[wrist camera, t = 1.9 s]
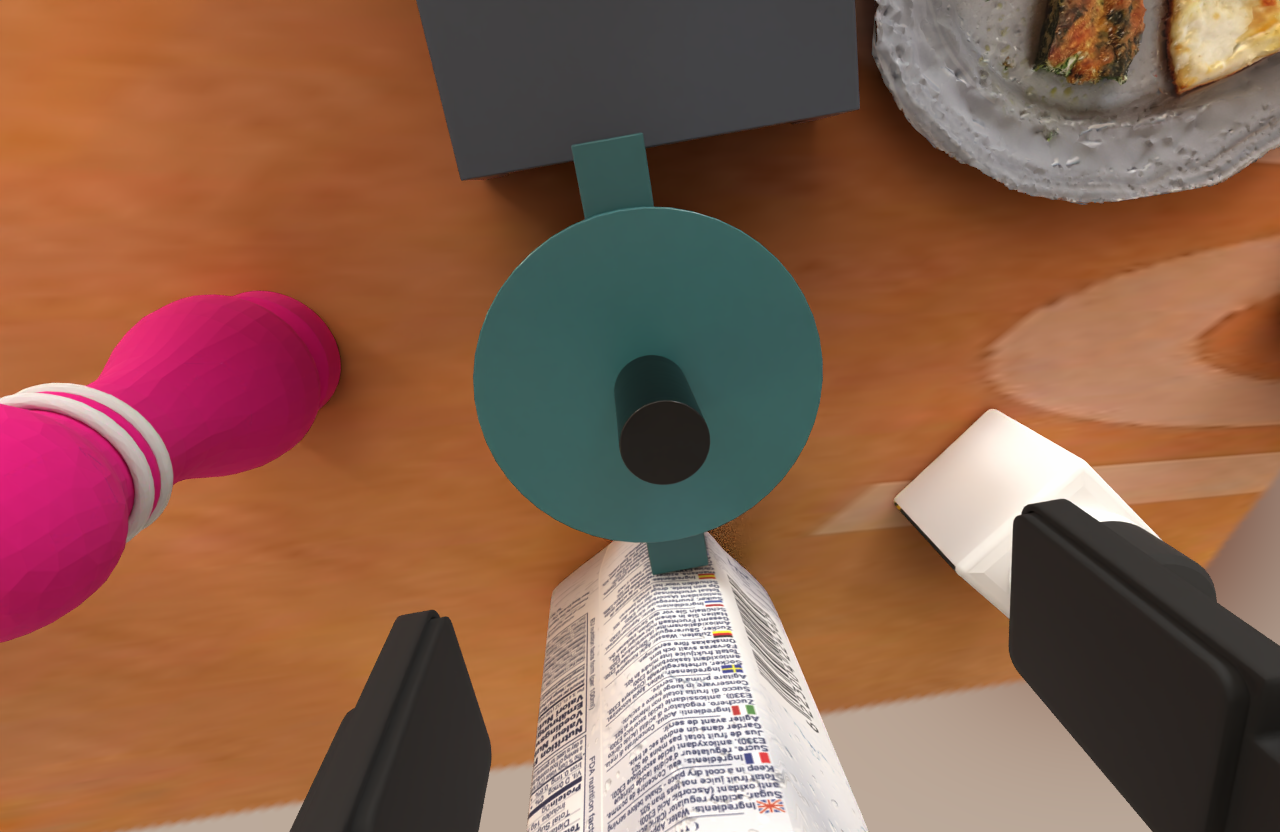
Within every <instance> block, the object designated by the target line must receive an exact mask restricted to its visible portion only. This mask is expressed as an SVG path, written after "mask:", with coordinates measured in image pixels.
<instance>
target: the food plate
mask: <svg viewBox="0 0 1280 832" xmlns="http://www.w3.org/2000/svg"><path fill="white" fill-rule="evenodd" d="M874 1H875V0H874ZM876 1H877V3H879V6H878V8H877V13H876V14H875V15H874V16H875V18H874V32H873V40H872V55H873V58H874V59H875V62H876V65H877V67H878V68H879V70H880V73H881V74H882V78H883V82H884V83H885V85H886V86H887V88H888V89H889V90H890V91H889V92H891V93H892V95H893V96H892V97H893V100H894V101H895V102H896V103H897V106H898V108H899V110H901V111H903V113H904V114H905V115H904V116H905V117H906V119H907V120H908V122H910V123H911V125H912V126H913V127H914V128H915V130H917V131H918V132H919V133H920V134H922V135H923V136H924V137H925V138H926V139H927V140H928V141H929V142H930V143H931V144H932V146H933V147H934V148H935V147H936V148H937V149H938V150H941V151H945V153H946V154H947V153H949V157H951V158H952V157H954V159H955V160H958V161H959V162H960V163H961V164H969V165H970V166H973V167H976V168H977V169H981V171H982V172H983V174H986V175H987V176H990V177H992V179H996V180H997V182H1001V183H1004V184H1005V185H1004V186H1006V187H1008V188H1009V190H1013V189H1014V190H1018V192H1023V193H1025V192H1026V194H1029V195H1031V196H1038V197H1039V196H1040V197H1045V198H1050V199H1052V200H1054V199H1055V200H1057V199H1058V200H1059V199H1060V200H1064V201H1070V203H1077V202H1084V203H1088V202H1094V203H1096V202H1099V203H1103V202H1104V201H1106V202H1110V203H1111V202H1118V201H1124V200H1130V199H1137V198H1140V197H1149V196H1155V195H1161V194H1167V193H1172V192H1179V191H1183V190H1190V189H1196V188H1201V187H1204V186H1208V187H1209V186H1213V185H1214V184H1216V185H1217V184H1218V183H1221V182H1223V181H1226V180H1227V179H1228V178H1231V177H1232V176H1233V175H1235V174H1236V173H1240V172H1241V171H1242V170H1243V169H1244V168H1245V167H1246V166H1247V167H1248V165H1249V164H1250V163H1253V162H1256V161H1257V159H1258V158H1259V159H1260V158H1261V157H1263V156H1264V155H1265V154H1266V153H1268V151H1269V150H1271V149H1275V148H1279V147H1280V0H876ZM874 4H875V3H874ZM870 21H871V20H870ZM875 21H876V22H877V26H878V28H877V34H878V40H877V42H876V31H875ZM959 162H958V163H959ZM1194 187H1195V188H1194ZM1077 204H1083V203H1077ZM1103 204H1104V203H1103ZM1083 205H1085V204H1083Z"/></svg>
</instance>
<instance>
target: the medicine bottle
mask: <svg viewBox="0 0 1280 832" xmlns="http://www.w3.org/2000/svg"><path fill="white" fill-rule="evenodd" d="M1056 499H1066V500H1069V501H1071V502H1072V503H1073V504H1075V505H1076V506H1078V507H1079V508H1081V509H1082V510H1084V511H1085V512H1087V513H1088V514H1089V515H1091V516H1092V517H1094V518H1095V519H1097V520H1098V521H1100V522H1101V523H1102V524H1104V525H1105V526H1107V527H1108V528H1110V529H1111V530H1113V531H1114V532H1115V533H1117V534H1118V535H1120V536H1121V537H1123V538H1124V539H1126V540H1127V541H1128V542H1130V543H1131V544H1133V545H1134V546H1136V547H1137V548H1139V549H1140V550H1142V551H1143V552H1144V553H1146V554H1147V555H1149V556H1150V557H1152V558H1153V559H1155V560H1156V561H1157V562H1159V563H1160V564H1162V565H1163V566H1165V567H1166V568H1168V569H1169V570H1170V571H1172V572H1173V573H1175V574H1176V575H1178V576H1179V577H1181V578H1182V579H1183V580H1185V581H1186V582H1188V583H1189V584H1191V585H1192V586H1194V587H1195V588H1197V589H1198V590H1199V591H1201V592H1202V593H1204V594H1205V595H1207V596H1208V597H1210V598H1211V599H1212V600H1214V601H1215V602H1217V600H1216V593H1215V588H1214V584H1213V582H1212V580H1211V578H1210V576H1209V574H1208V573H1207V572H1206V571H1205V569H1204V568H1202V567H1201V566H1200V565H1199V564H1198V563H1196V562H1195V561H1193V560H1191V559H1190V558H1188V557H1187V556H1185V555H1184V554H1182V553H1181V552H1179V551H1177V550H1176V549H1174V548H1173V547H1171V546H1170V545H1168V544H1167V543H1165V542H1163V541H1162V540H1161V539H1160V538H1159V537H1158V536H1157V535H1156V533H1155V532H1154V531H1153V530H1152V529H1151V528H1150V527H1149V526H1148V525H1147V524H1146V523H1145V522H1144V521H1143V520H1142V519H1141V518H1140V517H1139V516H1138V515H1137V514H1136V513H1135V512H1134V511H1133V510H1132V509H1131V508H1130V507H1129V506H1128V505H1127V504H1126V503H1125V502H1124V501H1123V500H1122V499H1121V497H1120V496H1119V495H1118V494H1117V493H1116V492H1115V491H1114V490H1113V489H1112V488H1111V487H1110V486H1109V485H1108V484H1107V483H1106V482H1105V481H1104V480H1103V479H1102V478H1101V477H1100V476H1099V475H1098V474H1097V473H1096V472H1095V471H1094V470H1093V469H1092V468H1091V467H1090V466H1089V465H1088V464H1087V463H1086V461H1084V460H1083V459H1081V458H1079V457H1077V456H1076V455H1074V454H1072V453H1070V452H1069V451H1067V450H1065V449H1064V448H1062V447H1060V446H1058V445H1057V444H1055V443H1053V442H1051V441H1050V440H1048V439H1046V438H1045V437H1043V436H1041V435H1039V434H1038V433H1036V432H1034V431H1033V430H1031V429H1029V428H1027V427H1026V426H1024V425H1022V424H1020V423H1019V422H1017V421H1015V420H1014V419H1012V418H1010V417H1008V416H1007V415H1005V414H1003V413H1001V412H1000V411H998V410H996V409H989V410H988V411H986V412H985V413H984V414H983V415H982V416H981V417H980V418H979V419H978V420H977V421H976V422H975V423H973V424H972V425H971V426H970V427H969V428H968V429H967V430H966V431H965V432H964V433H963V434H962V435H961V436H960V437H959V438H957V439H956V440H955V441H954V442H953V443H952V444H951V445H950V446H949V447H948V448H947V449H946V450H945V451H944V452H943V453H941V454H940V455H939V456H938V457H937V458H936V459H935V460H934V461H933V462H932V463H931V464H930V465H929V466H928V467H927V468H925V469H924V470H923V471H922V472H921V473H920V474H919V475H918V476H917V477H916V478H915V479H914V480H913V481H912V482H911V483H909V484H908V485H907V486H906V487H905V488H904V489H903V490H902V491H901V492H900V493H899V494H898V495H897V496H896V497H895V498H894V504H895V506H896V507H897V508H898V509H899V510H900V512H901V513H902V514H903V515H904V516H905V517H906V518H907V519H908V520H909V521H910V523H911V524H912V525H913V526H914V527H915V528H916V529H917V530H918V531H919V532H920V533H921V535H922V536H923V537H924V538H925V539H926V540H927V541H928V542H929V543H930V544H931V546H932V547H933V548H934V549H935V550H936V551H937V552H938V553H939V554H940V555H941V556H942V558H943V559H944V560H945V561H946V562H947V563H948V564H949V565H950V566H951V567H952V568H953V570H954V571H955V572H956V573H957V574H958V575H959V576H961V577H962V578H963V579H964V580H965V581H966V582H968V583H969V584H970V585H971V586H972V587H973V588H974V589H976V590H977V591H978V592H979V593H980V594H981V595H983V596H984V597H985V598H986V599H987V600H988V601H989V602H991V603H992V604H993V605H994V606H995V607H996V608H998V609H999V610H1000V611H1001V612H1002V613H1003V614H1004V615H1006V616H1007V617H1008V618H1009V619H1010V592H1011V563H1012V534H1013V521H1014V519H1015V517H1016V516H1018V515H1021V513H1022V510H1023V508H1024V507H1025V506H1026V505H1028V504H1033V503H1039V502H1045V501H1050V500H1056Z"/></svg>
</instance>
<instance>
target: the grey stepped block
mask: <svg viewBox="0 0 1280 832" xmlns="http://www.w3.org/2000/svg"><path fill="white" fill-rule="evenodd" d="M416 1H417V5H418V9H419V13H420V17H421V21H422V25H423V29H424V34H425V38H426V42H427V46H428V50H429V54H430V58H431V62H432V66H433V70H434V74H435V78H436V82H437V86H438V90H439V94H440V98H441V102H442V106H443V110H444V114H445V118H446V122H447V126H448V130H449V134H450V138H451V142H452V146H453V150H454V154H455V158H456V162H457V167H458V171H459V175H460V179H461V180H462V181H466V180H487V179H492V178H498V177H504V176H508V175H509V173H512V172H518V171H523V170H529V169H534V168H540V167H546V166H551V165H557V164H562V163H568V162H573V161H574V159H573V154H572V149H571V146H572V145H575V144H581V143H586V142H592V141H598V140H603V139H609V138H614V137H620V136H625V135H631V134H637V133H643V137H644V143H645V149H646V148H652V147H657V146H663V145H668V144H674V143H679V142H685V141H691V140H696V139H702V138H707V137H713V136H718V135H724V134H730V133H735V132H741V131H746V130H752V129H758V128H763V127H769V126H774V125H780V124H785V123H792V124H799V123H805V122H810V121H816V120H820V119H824V118H827V117H831V116H835V115H839V114H843V113H847V112H851V111H855V110H859V109H860V99H859V78H858V56H857V34H856V13H855V0H416Z"/></svg>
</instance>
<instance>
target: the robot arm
mask: <svg viewBox="0 0 1280 832" xmlns="http://www.w3.org/2000/svg"><path fill="white" fill-rule="evenodd" d="M1009 653H1010V657H1011V660H1012V663H1013V664H1014V666H1015V668H1016V670H1017V671H1018V672H1019V674H1020V675H1021V676H1022V677H1023V678H1024V680H1025V681H1026V682H1027V683H1028V684H1029V686H1031V688H1032V689H1033V690H1034V691H1035V693H1036V694H1037V695H1038V696H1039V697H1040V699H1041V700H1042V701H1043V702H1044V703H1045V704H1046V706H1047V707H1048V708H1049V709H1050V710H1051V712H1052V713H1053V714H1054V715H1055V716H1056V718H1057V719H1058V720H1059V721H1060V722H1061V724H1062V725H1063V726H1064V727H1065V728H1066V729H1067V731H1068V732H1069V733H1070V734H1071V735H1072V737H1073V738H1074V739H1075V740H1076V741H1077V742H1078V744H1079V745H1080V746H1081V747H1082V748H1083V749H1084V751H1085V752H1086V753H1087V754H1088V755H1089V756H1090V758H1091V759H1092V760H1093V761H1094V763H1095V764H1096V765H1097V766H1098V767H1099V769H1101V771H1102V772H1103V773H1104V775H1105V776H1106V777H1107V778H1108V779H1109V780H1110V782H1111V783H1112V784H1113V785H1114V786H1115V787H1116V789H1117V790H1118V791H1119V792H1120V793H1121V795H1122V796H1123V797H1124V798H1125V799H1126V801H1127V802H1128V803H1129V804H1130V805H1131V807H1133V809H1134V810H1135V811H1136V812H1137V814H1138V815H1139V816H1140V817H1141V818H1142V820H1143V821H1144V822H1145V823H1146V824H1147V825H1148V827H1149V828H1150V829H1151V830H1152V831H1153V832H1280V646H1279V645H1278V644H1276V643H1275V642H1273V641H1272V640H1270V639H1269V638H1267V637H1266V636H1265V635H1263V634H1262V633H1260V632H1259V631H1257V630H1256V629H1254V628H1253V627H1252V626H1250V625H1249V624H1247V623H1246V622H1244V621H1243V620H1241V619H1240V618H1238V617H1237V616H1236V615H1234V614H1233V613H1231V612H1230V611H1228V610H1227V609H1225V608H1224V607H1223V606H1221V605H1220V604H1218V603H1217V602H1215V601H1214V600H1212V599H1211V598H1210V597H1208V596H1207V595H1205V594H1204V593H1202V592H1201V591H1199V590H1198V589H1197V588H1195V587H1194V586H1192V585H1191V584H1189V583H1188V582H1186V581H1185V580H1183V579H1182V578H1181V577H1179V576H1178V575H1176V574H1175V573H1173V572H1172V571H1170V570H1169V569H1168V568H1166V567H1165V566H1163V565H1162V564H1160V563H1159V562H1157V561H1156V560H1155V559H1153V558H1152V557H1150V556H1149V555H1147V554H1146V553H1144V552H1143V551H1142V550H1140V549H1139V548H1137V547H1136V546H1134V545H1133V544H1131V543H1130V542H1128V541H1127V540H1126V539H1124V538H1123V537H1121V536H1120V535H1118V534H1117V533H1115V532H1114V531H1113V530H1111V529H1110V528H1108V527H1107V526H1105V525H1104V524H1102V523H1101V522H1100V521H1098V520H1097V519H1095V518H1094V517H1092V516H1091V515H1089V514H1088V513H1087V512H1085V511H1084V510H1082V509H1081V508H1079V507H1078V506H1076V505H1075V504H1073V503H1072V502H1071V501H1069V500H1066V499H1056V500H1050V501H1045V502H1039V503H1033V504H1028V505H1026V506H1025V507H1024V508H1023V510H1022V513H1021V515H1018V516H1016V517H1015V519H1014V521H1013V534H1012V563H1011V592H1010V621H1009ZM490 766H491V744H490V739H489V736H488V733H487V730H486V727H485V724H484V720H483V717H482V714H481V711H480V708H479V705H478V702H477V699H476V696H475V693H474V690H473V687H472V684H471V681H470V677H469V674H468V671H467V668H466V665H465V662H464V659H463V656H462V653H461V650H460V647H459V644H458V641H457V637H456V634H455V631H454V628H453V625H452V623H451V620H450V619H449V617H441V618H440V617H439V614H438V613H437V612H436V611H435V610H429V611H423V612H417V613H412V614H406V615H401V616H399V617H397V619H396V620H395V622H394V624H393V627H392V629H391V631H390V633H389V635H388V637H387V640H386V642H385V644H384V646H383V648H382V650H381V653H380V655H379V657H378V659H377V661H376V663H375V666H374V668H373V670H372V672H371V674H370V676H369V679H368V681H367V683H366V685H365V687H364V689H363V692H362V694H361V696H360V698H359V700H358V702H357V704H356V707H355V708H353V709H352V710H351V711H349V712H348V713H347V714H346V716H345V717H344V719H343V721H342V722H341V725H340V727H339V729H338V731H337V733H336V735H335V737H334V739H333V741H332V743H331V746H330V748H329V750H328V752H327V754H326V756H325V758H324V760H323V762H322V765H321V767H320V769H319V771H318V773H317V775H316V777H315V779H314V781H313V784H312V786H311V788H310V790H309V792H308V794H307V796H306V798H305V800H304V802H303V805H302V807H301V809H300V811H299V813H298V815H297V817H296V819H295V821H294V824H293V826H292V828H291V830H290V832H478V830H479V825H480V819H481V814H482V809H483V804H484V798H485V792H486V787H487V782H488V777H489V771H490Z"/></svg>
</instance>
